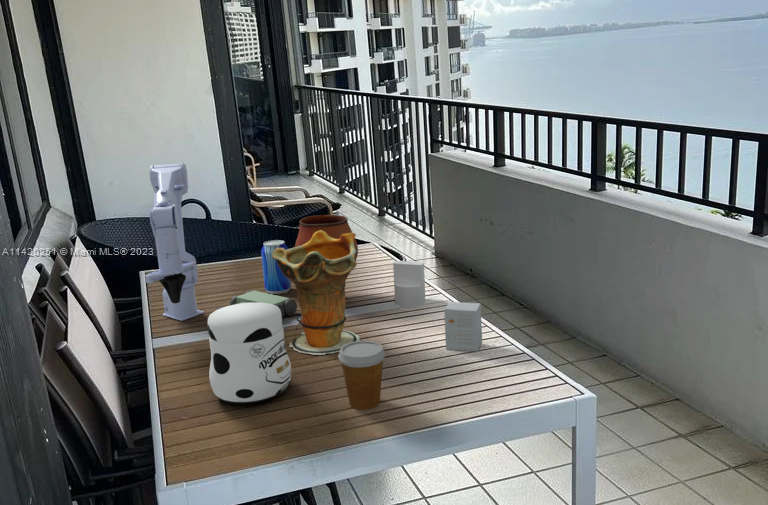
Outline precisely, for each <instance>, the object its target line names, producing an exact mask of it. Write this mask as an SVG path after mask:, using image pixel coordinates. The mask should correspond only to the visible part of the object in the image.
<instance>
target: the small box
mask: <svg viewBox="0 0 768 505" xmlns="http://www.w3.org/2000/svg"><path fill="white" fill-rule="evenodd" d="M443 312H444V313H443V314H444V333H445V334H444V335H445V338H444V340H445V349H446V350H448V351H449V350H450V351H451V350H452V351H462V352H463V351H465V352H476V353H478V352H479V350H480V348H481V345H482V344H483V330H482V328H483V327H482V326H483V325H482V304H481V303H480V302H479V303H477V302H461V301H460V302H459V301H458V302H457V301H449V302H448V304H447V305H446V306H445V308H444V311H443Z"/></svg>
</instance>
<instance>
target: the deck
mask: <svg viewBox="0 0 768 505" xmlns="http://www.w3.org/2000/svg"><path fill="white" fill-rule="evenodd" d="M257 302H261V303H269V304H273V305H275V306H277V307H278V308H279V309H280V310H281V314H282V319H283V318H284V315H285V316H287V315H288V316H293V315H295V314H296V312H297V309H298V305H297V303H298V302H296V300H294V299H291V298H290V297H286V296H280V295H273V294H269V293H268V292H262V291H258V290H247V291H245V292H244V294H241V295H237V294H235V295H233V296H232V297H231V299H230V301H229V306H231V305H235V304H241V303H257Z"/></svg>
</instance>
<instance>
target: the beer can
mask: <svg viewBox="0 0 768 505" xmlns="http://www.w3.org/2000/svg"><path fill="white" fill-rule="evenodd" d="M277 248H284V249H285V250H287V249H289V248H288V246H287V245H286V243H285V241H284V240H279V239H274V240H273V239H272V240H267V241H264V242H263V246H262V248H261V250H260V252H261V253H260V255H261V264H262V273H263V274H262V275H263V276H262V277H263V283H264V284H263V285H264V290H265V291H266V293H268V294H269V293H270V294H272V295H273V294H278V295H283V294H282V293H284V294H287V293H289V292H290V289H291V288H292V281H291V280H290V279H288V278H287V277H286V276H285V275H284V274H283V273H282V272H281V270H280V268H279V266H278V264H277V261H276V260H275V259H273V257H272V253H273V251H274V250H275V249H277ZM288 291H289V292H288ZM286 292H287V293H286Z"/></svg>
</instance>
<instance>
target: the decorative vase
mask: <svg viewBox="0 0 768 505" xmlns="http://www.w3.org/2000/svg"><path fill="white" fill-rule="evenodd" d="M356 235H357V234H356V233H355V232H352V233H348V234H343V235H341V237H340V239H334V238H332V237H329V236H328V235H327V233H326V232H324V231H322V230H320V231H317V232H315V233H314V234H313V236H312V238H311V239H310V241H309V242H307V243H305V244H303V245H302V246H297V247H295V246H294V247H292V248H288V249H287V250H285V249H284V248H277V249H275V250H274V251H273V253H272V257H273V259H275V260H276V261H277V264H278V266H279V268H280V270H281V272H282V273H283V274H284V275H285V276H286V277H287V278H288V279H290V280H291V283H293V284H294V286H295V290H296V293H297V299H298V305H299V309H300V313H301V318H300V319H299V321H298V323H297V326H296V328H295V330H297V329H298V325H301V326H302V328H303V332H301V334H300V335H298V336H297V337H295V334H294V337H295V338H293V340H291V342H289V345H288V347H291V348H293V351H296V352H298V353H303V354H307V355H308V354H310V355H313V356H314V355H316V356H317V355H318V356H322V355H323V356H325V355H326V354H332V355H333V354H335V353H336V354H337V353H340V349H341V347H342V346H344V345H345V344H348V343H351V342H355V341H361V338H360V336H359V335H358V334H356V333H354V332H352V331H349V330H345V329H344V328H345V322H346V320H347V316H346V315H345V312H346V302H347V299H346V281H347V278H348V276H349V275H350V273H351V272H352V271H353V270H354V269H355V268H356V267H357V260H356V261H355V257H356V256H355V255H356V249H355V245H354V239H356V237H357V236H356ZM306 340H307V341H306ZM305 342H307V344H308V347H307V345H305V344H304V343H305ZM319 348H324V349H319Z"/></svg>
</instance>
